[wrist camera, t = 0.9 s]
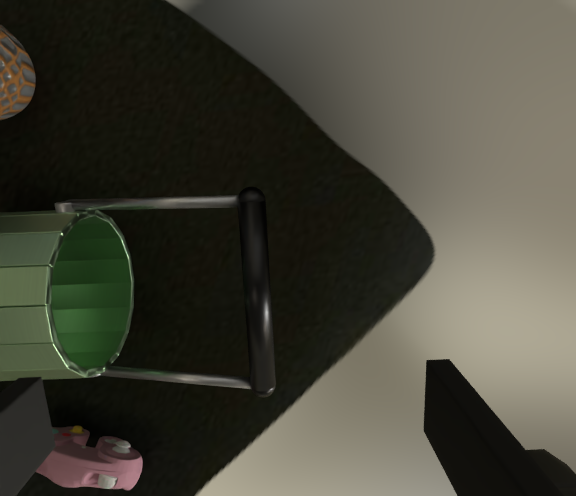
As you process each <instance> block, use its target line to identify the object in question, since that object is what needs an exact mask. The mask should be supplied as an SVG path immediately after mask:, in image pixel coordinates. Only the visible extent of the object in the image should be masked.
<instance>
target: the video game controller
mask: <svg viewBox="0 0 576 496" xmlns="http://www.w3.org/2000/svg"><path fill="white" fill-rule="evenodd" d="M52 431H53V436H54V440H55V445H56V447H55V448H54V449H53V450H52V452H51V453H50V454H49V455H48V457H47V458H46V459H45V460H44V462H43V463H42V464H41V465H40V466H39V468H38V469H37V470H36V471H35V472H38V473H40V474H42V475H44V476H46V477H48V478H49V479H50V480H52V481H53V482H54V483H56V484H58V485H60V486H63V487H81V486H89V487H97V488H105V489H120V488H123V489H125V490H130V489H132V488H133V487H134V486H135V484H136V483H137V481H138V479H139V477H140V474H141V471H142V465H143V460H142V457H141V454H140V453H139V452H138V451H137V450H135V449H133V448H131V447H130V446H131V445H130V444H129V443H128V442H127V441H123V440H122V439H119V438H117V437H112V436H103V437H100V438H99V440H98V443H97V445H96V447H95V448H92V447H88V446H86V443H87V440H88V438H89V435H90V432H89V431H88V430H86V429H83V428H82V427H81V426H74V427H62V428H60V427H52Z"/></svg>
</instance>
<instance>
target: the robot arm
mask: <svg viewBox="0 0 576 496" xmlns="http://www.w3.org/2000/svg"><path fill="white" fill-rule="evenodd" d="M424 432H425V434H426V436H427V438H428V440H429V442H430V444H431V446H432V448H433V450H434V451H435V453H436V455H437V457H438V459H439V461H440V463H441V465H442V467H443V469H444V470H445V473H446V475H447V476H448V478H449V480H450V482H451V484H452V486H453V488H454V490H455V492H456V494H457V496H576V474H575V473H574V472H573V471H572V470H571V469H570V467H569V466H568V465H567V464H565V463H564V462H562V461H561V460H559V459H558V458H556V457H555V456H553V455H552V454H550V453H549V452H547V451H546V450H544V449H543V450H542V449H539V450H525V449H524V448H523V446H521V444H520V443H519V442H518V440H517V439H516V438H515V437H514V436H513V435H512V433H511V432H510V431H509V430H508V429H507V428H506V426H505V425H504V424H503V423H502V421H501V420H500V419H499V418H498V417H497V416H496V415H495V413H494V412H493V411H492V410H491V409H490V408H489V406H488V405H487V404H486V403H485V401H484V400H483V399H482V398H481V397H480V395H479V394H478V393H477V392H476V391H475V389H474V388H473V387H472V386H471V385H470V383H469V382H468V381H467V380H466V379H465V378H464V376H463V375H462V374H461V373H460V372H459V370H458V369H457V368H456V367H455V366H454V365H453V363H452V362H451V361H450V360H449V359H446V360H445V359H443V360H427V362H426V387H425V411H424ZM55 447H56V445H55V440H54V436H53V431H52V426H51V421H50V416H49V411H48V406H47V402H46V397H45V392H44V387H43V382H42V377H26V378H18V379H17V380H16V381H14V382H13V383H12V384H11V385H9V386H8V387H7V388H6V389H4V390H3V391H2V392H1V393H0V496H16V495H17V494H18V492H19V491H20V490H21V489H22V487H23V486H24V485H25V484H26V482H27V481H28V480H29V479H30V478H31V476H32V475H33V474H34V473H35V471H36V470H37V469H38V468H39V466H40V465H41V464H42V463H43V462H44V460H45V459H46V458H47V457H48V455H49V454H50V453H51V452H52V450H53V449H54V448H55Z"/></svg>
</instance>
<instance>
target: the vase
mask: <svg viewBox="0 0 576 496" xmlns="http://www.w3.org/2000/svg"><path fill="white" fill-rule="evenodd" d="M35 83H36V78H35V71H34V67H33V64H32V61H31V59H30V57H29V55H28V53H27V52H26V50H25V49H24V47H23V46H22V44H21V43H20V42H19V41H18V40H17V39H16V38H15V37H14V35H13V34H11V33H10V32H9V31H8V30H7V29H6V28H5V27H3V26H2V25H1V24H0V120H3V119H7V118H10V117H12V116H14V115H16V114H17V113H19V112H21V111H22V110H23V109H24V108H25V107H26V106H27V105H28V104H29V102H30V101H31V99H32V96H33V94H34V90H35Z"/></svg>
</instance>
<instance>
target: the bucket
mask: <svg viewBox="0 0 576 496" xmlns="http://www.w3.org/2000/svg"><path fill="white" fill-rule="evenodd" d="M226 207H238V214H239V228H240V242H241V256H242V270H243V284H244V297H245V311H246V325H247V339H248V353H249V367H250V377H241V376H229V375H216V374H204V373H192V372H179V371H167V370H155V369H142V368H130V367H118V366H110V365H111V364H112V363H113V362H114V360H115V359H116V358H117V357H118V355H119V353H120V351H121V349H122V347H123V344H124V342H125V340H126V338H127V335H128V334H127V333H128V332H129V327H130V322H131V318H132V313H133V307H134V275H133V268H132V261H131V257H130V256H131V255H130V252H129V250H128V247H127V244H126V241H125V238H124V235H123V233H122V232H121V230H120V229H119V228H118V226H117V225H116V223H115V222H114V221H113V219H112V218H111V217H110V216H108V215H106V214H104V213H102V212H100V211H98V210H124V209H175V208H226ZM55 209H56V210H53V211H30V212H6V213H0V381H10V380H17V379H18V378H26V377H42V379H67V378H87V377H96V376H111V377H122V378H134V379H145V380H157V381H168V382H179V383H191V384H202V385H213V386H225V387H236V388H248V389H252V391H253V392H254V394H255V395H257V396H259V397H267V396H269V395H271V394H272V393H273V391H274V389H275V386H276V381H275V363H274V345H273V327H272V309H271V292H270V274H269V256H268V238H267V220H266V202H265V196H264V194H263V192H262V191H261V190H259V189H258V188H255V187H247V188H245V189H243V190H242V191H241V192H240V194H239V195H224V196H187V197H150V198H112V199H75V200H67V201H66V202H57V203H55Z"/></svg>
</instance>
